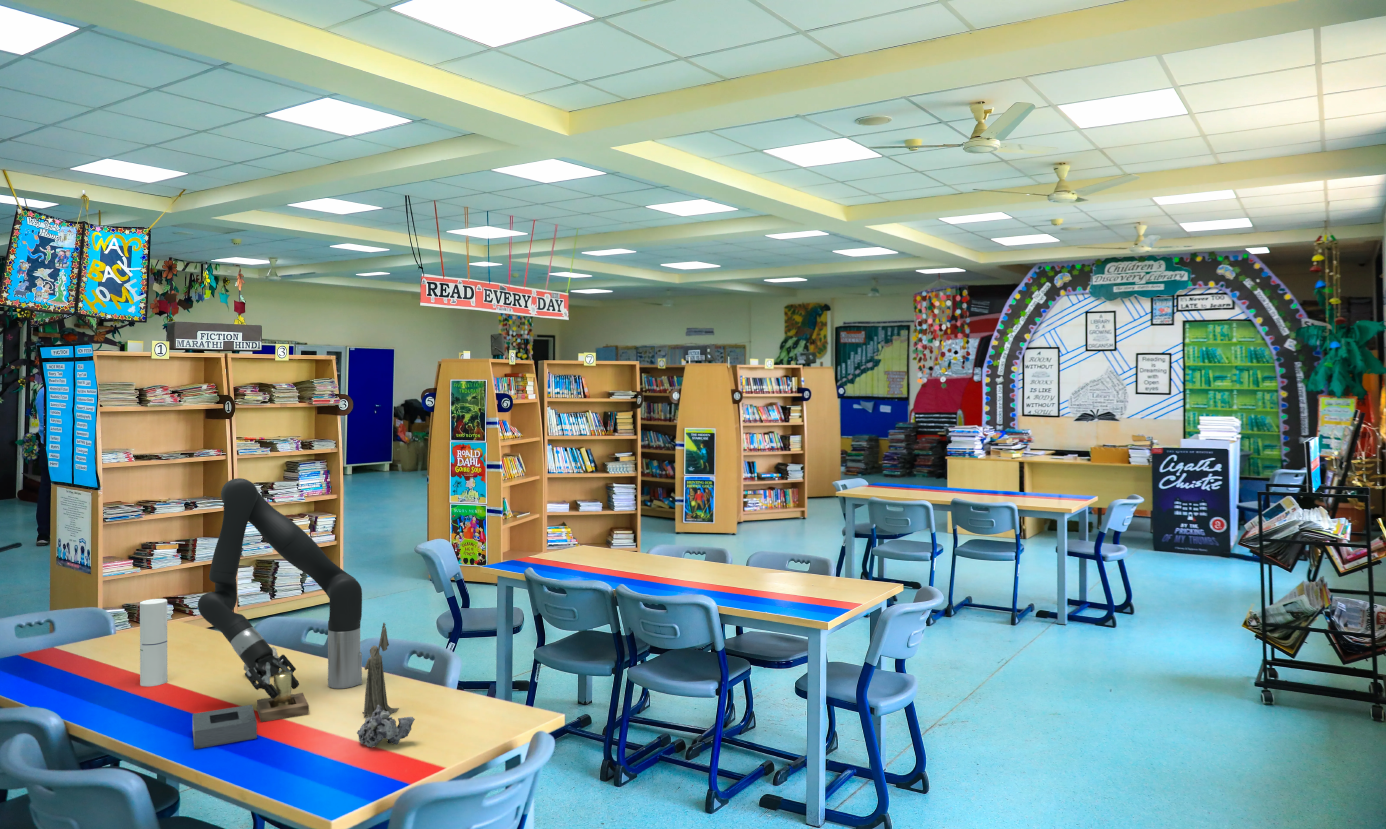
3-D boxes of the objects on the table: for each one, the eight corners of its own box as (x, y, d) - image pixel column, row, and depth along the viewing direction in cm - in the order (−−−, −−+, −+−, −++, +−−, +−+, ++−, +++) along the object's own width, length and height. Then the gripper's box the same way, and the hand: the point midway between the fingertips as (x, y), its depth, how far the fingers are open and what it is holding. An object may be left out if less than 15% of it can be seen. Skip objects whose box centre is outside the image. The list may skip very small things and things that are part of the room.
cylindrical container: (154, 687, 266) (154, 604, 266) (134, 685, 268) (134, 603, 267) (173, 679, 273) (172, 599, 273) (153, 678, 275) (153, 598, 274)
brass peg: (290, 707, 250) (290, 670, 250) (292, 712, 246) (292, 675, 246) (272, 710, 248) (272, 673, 248) (274, 715, 244) (274, 677, 244)
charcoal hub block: (251, 721, 239) (251, 704, 239) (256, 738, 227) (256, 721, 227) (192, 730, 232) (192, 713, 232) (194, 749, 220) (194, 731, 220)
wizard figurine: (383, 704, 253) (384, 617, 253) (403, 709, 249) (403, 621, 248) (352, 714, 245) (353, 625, 244) (372, 721, 240) (373, 629, 240)
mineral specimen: (421, 726, 226) (396, 692, 225) (393, 752, 218) (367, 717, 217) (395, 739, 233) (371, 706, 233) (367, 764, 225) (342, 731, 224)
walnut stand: (302, 701, 255) (302, 692, 255) (308, 714, 245) (308, 705, 245) (256, 708, 249) (256, 699, 249) (260, 722, 239) (260, 712, 239)
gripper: (241, 645, 241) (277, 691, 239) (277, 632, 255) (311, 675, 253) (224, 663, 243) (260, 709, 240) (261, 649, 257) (295, 692, 254)
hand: (286, 691), depth 246 cm, fingers open, 8 cm apart
